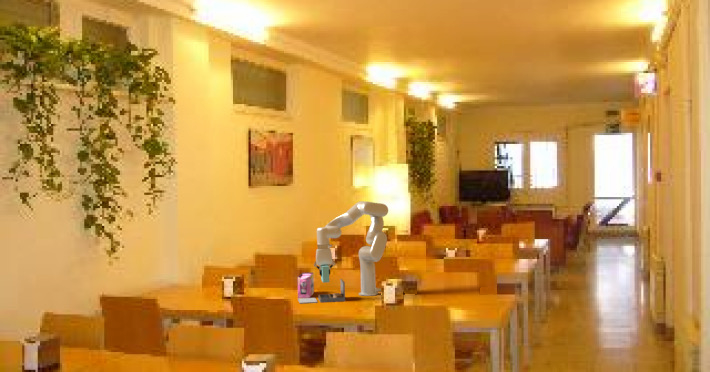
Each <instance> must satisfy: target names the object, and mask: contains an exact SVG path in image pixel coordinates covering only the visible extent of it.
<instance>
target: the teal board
mask: <svg viewBox="0 0 710 372" xmlns="http://www.w3.org/2000/svg"><path fill="white" fill-rule="evenodd" d="M321 270H322V276H321V275H320V278H321V279H320V280H321V282H322V283H330V274H329V266H328V265H322V266H321Z"/></svg>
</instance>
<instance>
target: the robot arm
mask: <svg viewBox="0 0 710 372" xmlns="http://www.w3.org/2000/svg"><path fill="white" fill-rule="evenodd" d="M388 213H389V208H388V206H387V205H386V204H384V203H378V202H373V201H364V200H361V201H358V202H356V203H355V204H354V205H352V206H351V207H350V208H349V209H348V210H347V211H346V212H344V213H343V214H341V215H339V216H337V217H335V218H334V219H332V220H331V221H329V222H328V223H327V224H326V225H325V226H323V227H317V228H316V242H317V243H316V245H317V249H316V251H315V261H314V263H313V267H314V268H317V270H319V276H320V277H321V276H322V270H321V266H322V265H328V266H329V275H331V269H332V268H333V267H335V265H336V262H335V261H334V260H333V254H332V249H331V247H333V244H330V239H338V238H340V236H341V235H342V233H343V232H342V229H341V228H344V227H347V226H350V225H353V224H354V223H356V221H358V220H359V219H360V218H361V217H363V216H364V215H365V216H366V215H367V216H368V215H369V217H370V226H369V228H368V231H367V233H366V237H365V241H366V243H367V244H368V245H364V246H362V247H360V249H359V250H358V259H359V265H360V267H359V268H360V291H359V292H358V295H359V296H366V297H368V296H370V297H372V296H373V297H374V296H377V295H379V292H382V291H381V288H382V287H381V288H380V287H376V265H375V262H376V263H377V262H379V261H380V260H381V259H382V256H383V255H384V252H385V248H386V246H387V242H388V236H387V234H386V233H385V232H384V231H383V229H384V226H385V223H384V222H385V221H384V217H386V216H387V215H388ZM369 245H370V246H369Z"/></svg>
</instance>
